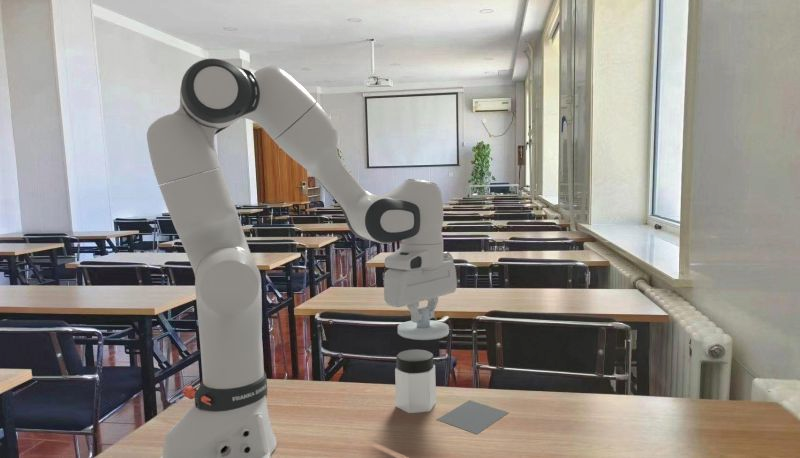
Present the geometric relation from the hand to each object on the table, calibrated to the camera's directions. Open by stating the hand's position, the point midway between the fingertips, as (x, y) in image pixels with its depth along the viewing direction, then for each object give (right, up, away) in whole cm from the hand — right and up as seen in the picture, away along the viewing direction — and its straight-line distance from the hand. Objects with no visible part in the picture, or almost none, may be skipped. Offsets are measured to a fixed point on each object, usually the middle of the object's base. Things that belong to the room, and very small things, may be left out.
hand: (422, 319), depth 113 cm
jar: (-1, -20, +4) cm, 21 cm away
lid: (0, -3, 0) cm, 3 cm away
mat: (+10, -20, -3) cm, 23 cm away
